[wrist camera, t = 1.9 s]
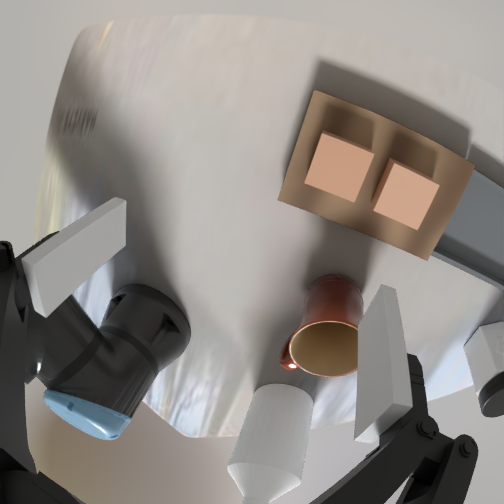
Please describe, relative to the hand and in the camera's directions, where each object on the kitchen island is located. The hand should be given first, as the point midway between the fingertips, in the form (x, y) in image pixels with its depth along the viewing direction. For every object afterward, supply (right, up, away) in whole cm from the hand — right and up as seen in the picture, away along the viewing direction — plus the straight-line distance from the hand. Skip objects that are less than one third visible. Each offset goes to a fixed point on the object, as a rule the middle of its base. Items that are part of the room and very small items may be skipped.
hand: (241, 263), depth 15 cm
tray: (+30, +3, +15) cm, 34 cm away
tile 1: (+15, +7, +14) cm, 22 cm away
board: (+14, +9, +16) cm, 23 cm away
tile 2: (+9, +9, +14) cm, 19 cm away
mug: (+10, -6, +26) cm, 28 cm away
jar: (+37, -13, +22) cm, 45 cm away
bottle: (+6, -27, +39) cm, 48 cm away
